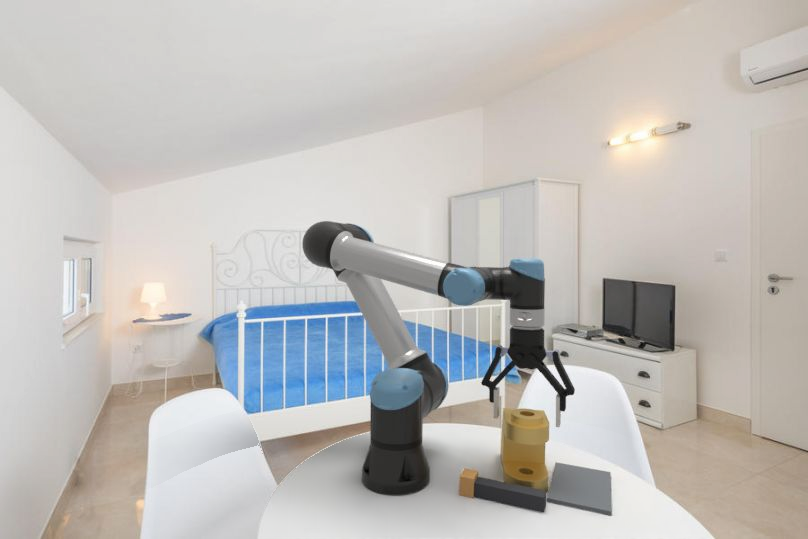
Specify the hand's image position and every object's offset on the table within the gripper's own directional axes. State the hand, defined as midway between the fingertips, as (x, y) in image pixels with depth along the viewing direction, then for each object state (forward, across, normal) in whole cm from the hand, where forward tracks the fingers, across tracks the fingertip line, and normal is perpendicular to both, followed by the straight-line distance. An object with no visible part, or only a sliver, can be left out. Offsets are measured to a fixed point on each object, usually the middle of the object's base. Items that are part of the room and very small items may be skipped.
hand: (526, 420), depth 104 cm
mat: (+13, +12, 0) cm, 17 cm away
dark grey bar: (+13, -3, -12) cm, 18 cm away
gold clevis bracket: (+13, -1, +1) cm, 13 cm away
